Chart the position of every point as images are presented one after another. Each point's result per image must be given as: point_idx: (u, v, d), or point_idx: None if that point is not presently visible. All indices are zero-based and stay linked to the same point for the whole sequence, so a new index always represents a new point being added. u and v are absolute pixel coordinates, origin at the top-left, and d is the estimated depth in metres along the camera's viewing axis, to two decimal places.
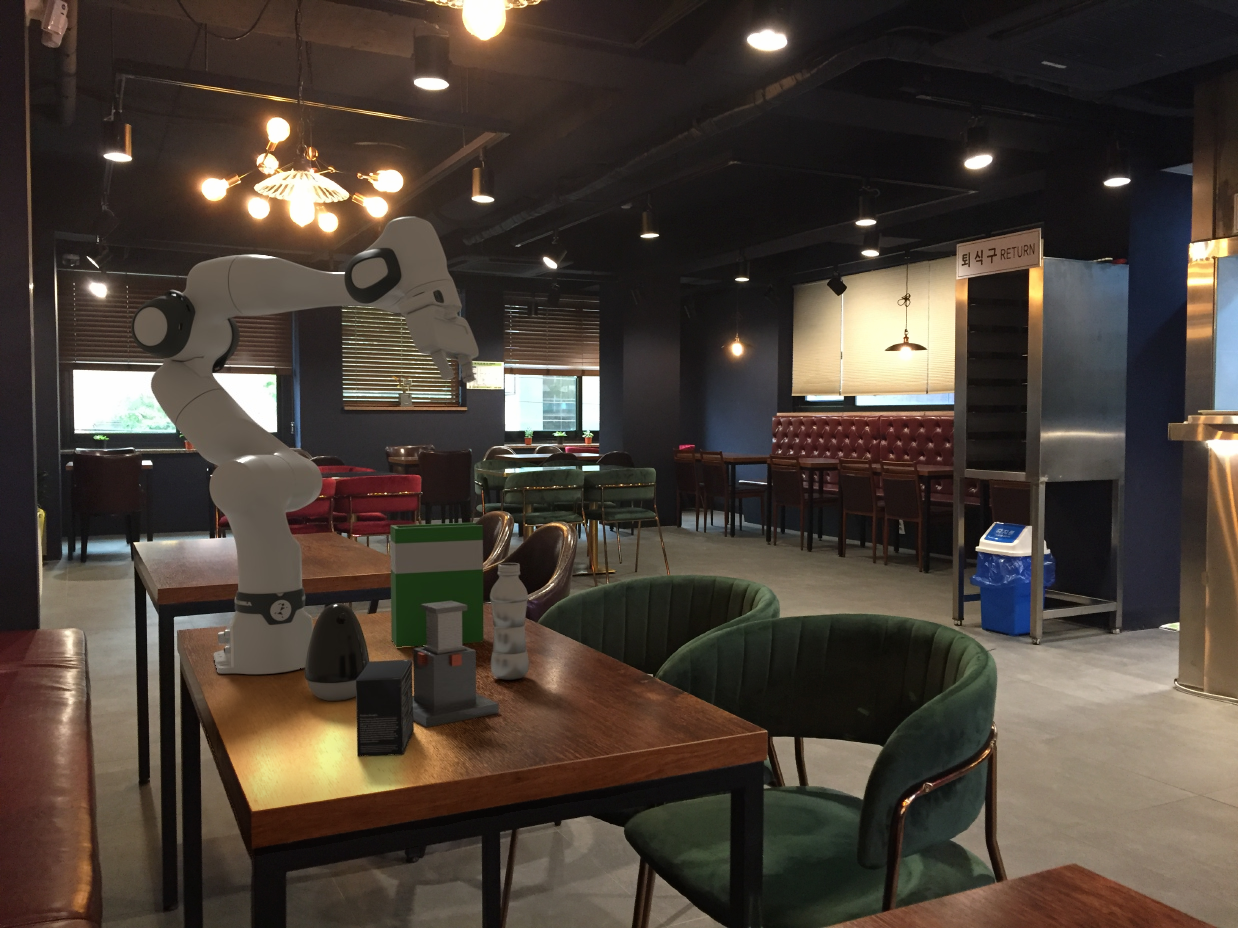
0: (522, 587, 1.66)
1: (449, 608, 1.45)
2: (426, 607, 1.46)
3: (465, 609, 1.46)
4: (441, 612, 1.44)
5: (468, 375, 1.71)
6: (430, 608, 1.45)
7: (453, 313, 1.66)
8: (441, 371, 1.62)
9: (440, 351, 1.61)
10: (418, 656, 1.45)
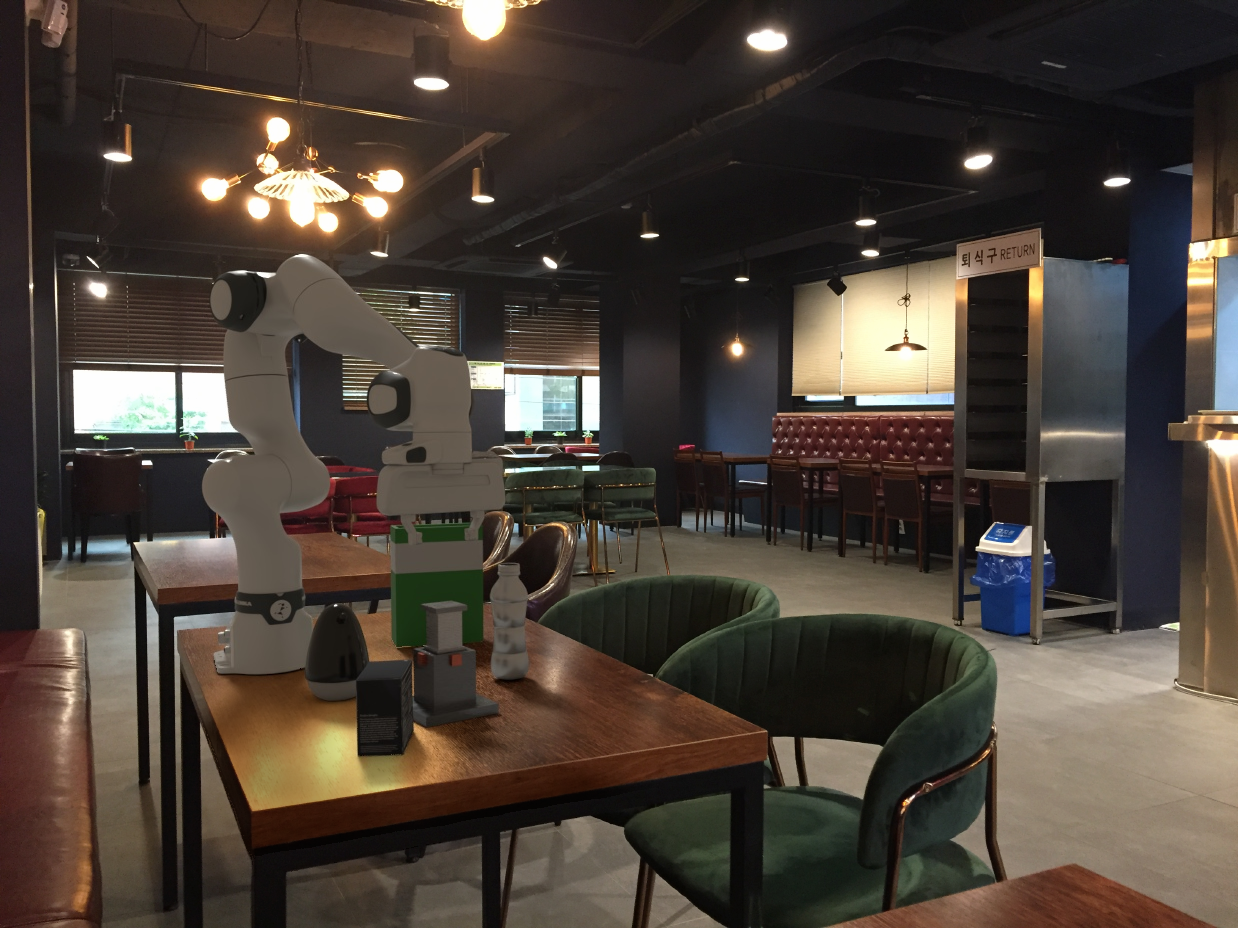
0: (522, 587, 1.66)
1: (449, 608, 1.45)
2: (426, 607, 1.46)
3: (465, 609, 1.46)
4: (441, 612, 1.44)
5: (469, 534, 1.49)
6: (430, 608, 1.45)
7: (447, 469, 1.44)
8: (409, 535, 1.44)
9: (405, 515, 1.42)
10: (418, 656, 1.45)
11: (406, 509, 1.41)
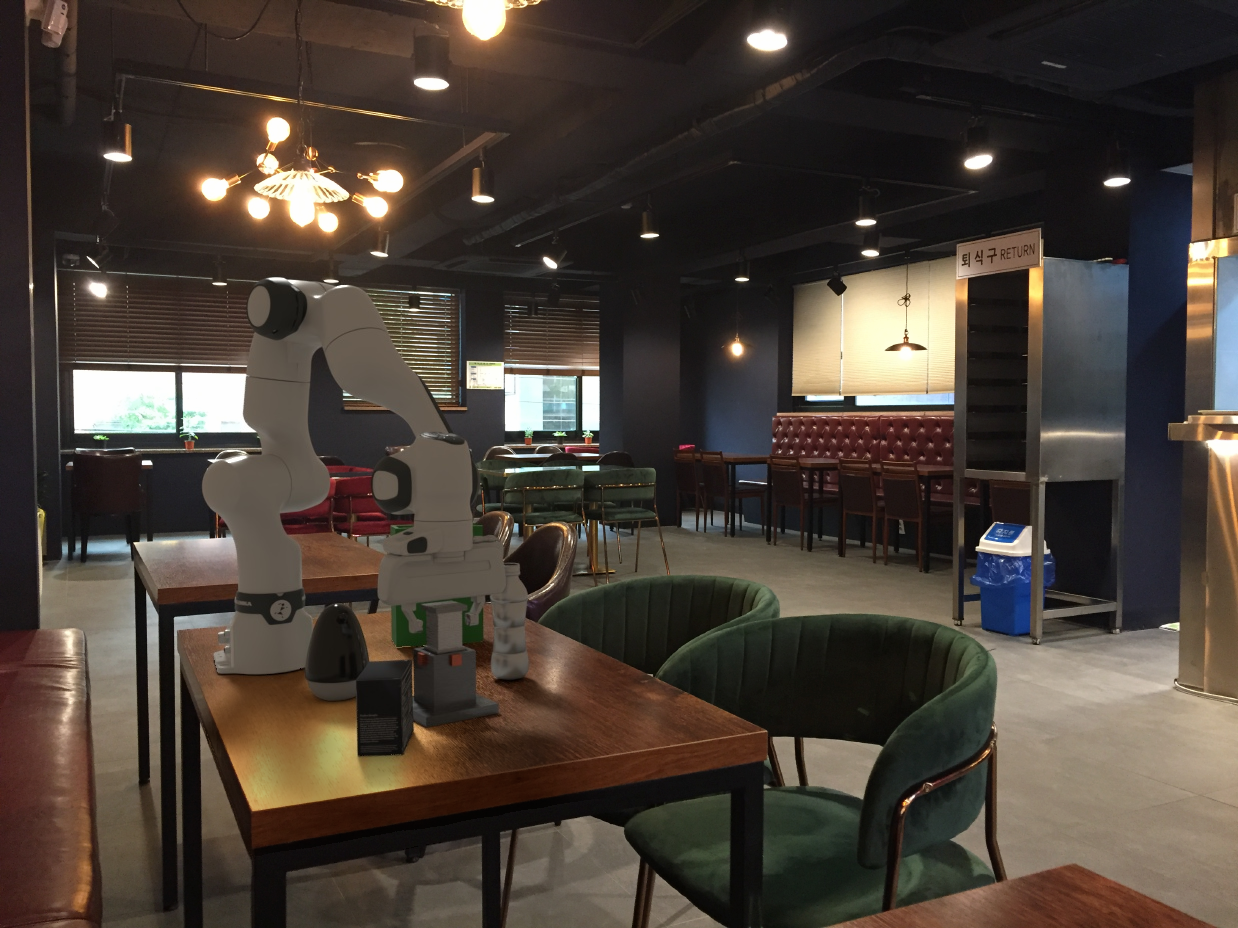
0: (522, 587, 1.66)
1: (449, 608, 1.45)
2: (426, 607, 1.46)
3: (465, 609, 1.46)
4: (441, 612, 1.44)
5: (469, 618, 1.49)
6: (430, 608, 1.45)
7: (448, 558, 1.44)
8: (409, 622, 1.44)
9: (406, 604, 1.42)
10: (418, 656, 1.45)
11: (407, 599, 1.41)
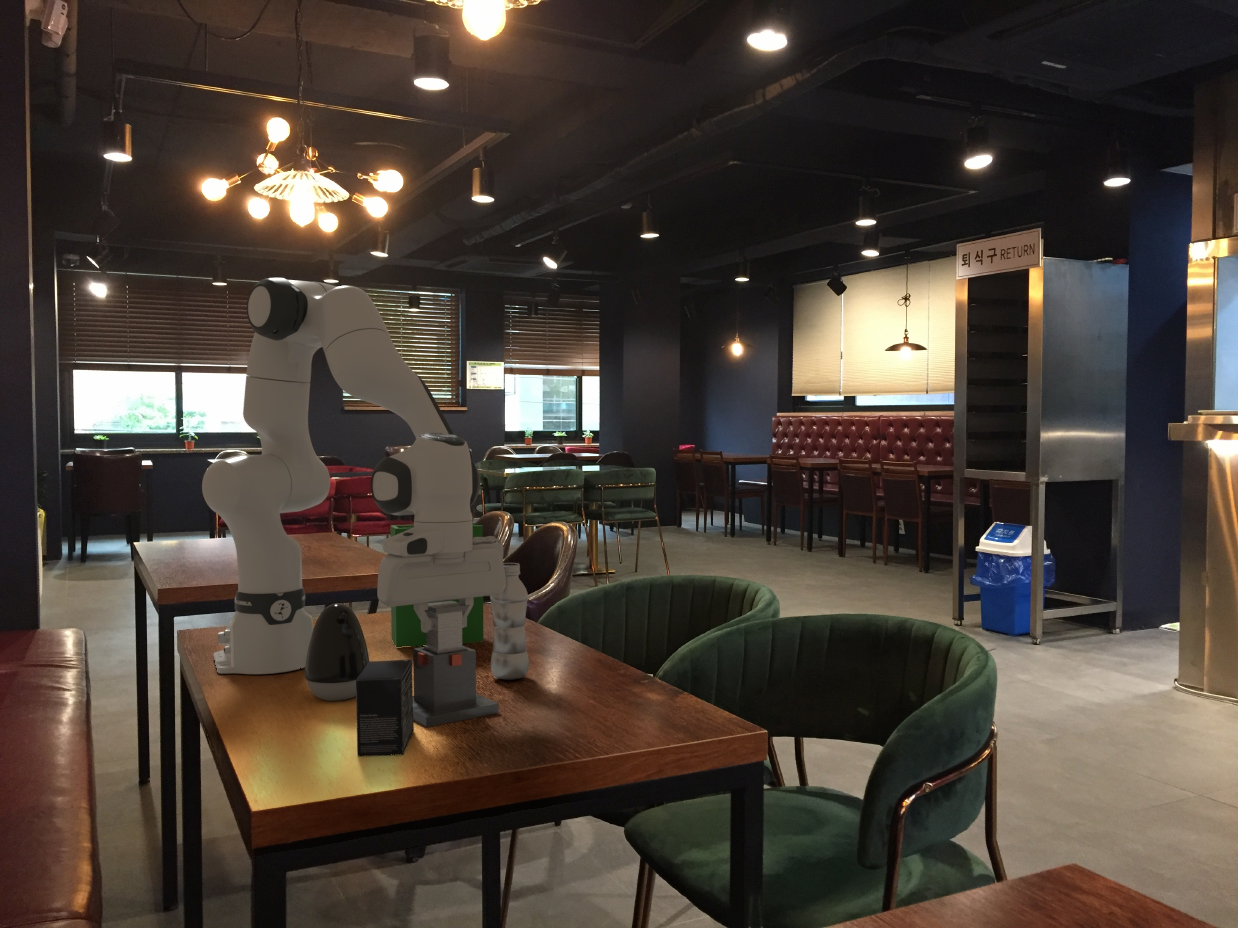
0: (522, 587, 1.66)
1: (449, 608, 1.45)
2: None
3: (465, 609, 1.46)
4: (441, 612, 1.44)
5: None
6: (430, 608, 1.45)
7: (448, 559, 1.44)
8: (421, 622, 1.45)
9: (419, 604, 1.44)
10: (418, 656, 1.45)
11: (407, 600, 1.41)
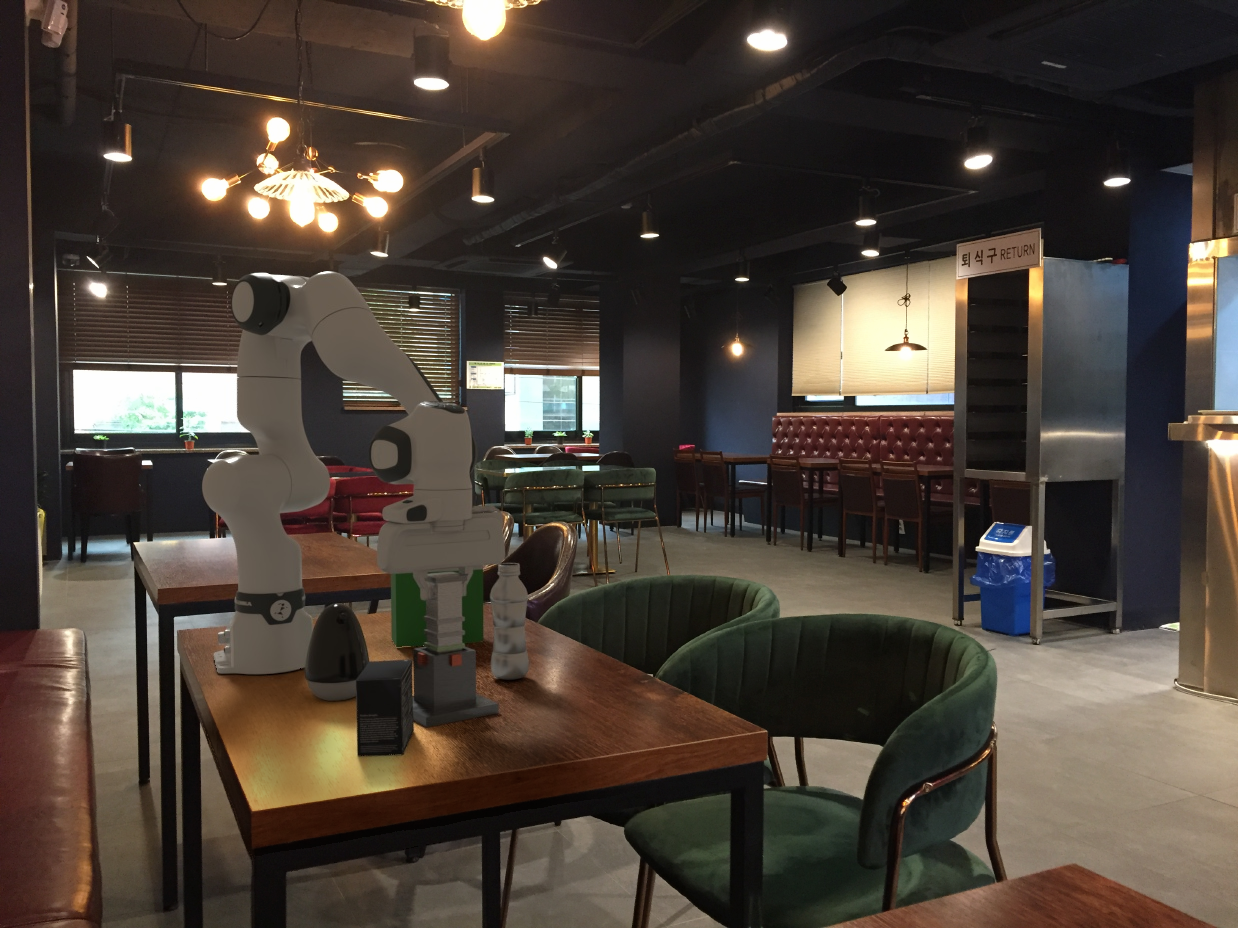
0: (522, 587, 1.66)
1: (449, 578, 1.45)
2: None
3: (465, 579, 1.46)
4: (441, 582, 1.44)
5: None
6: (430, 578, 1.45)
7: (447, 527, 1.44)
8: (421, 590, 1.45)
9: (418, 572, 1.44)
10: (418, 656, 1.45)
11: (406, 567, 1.41)
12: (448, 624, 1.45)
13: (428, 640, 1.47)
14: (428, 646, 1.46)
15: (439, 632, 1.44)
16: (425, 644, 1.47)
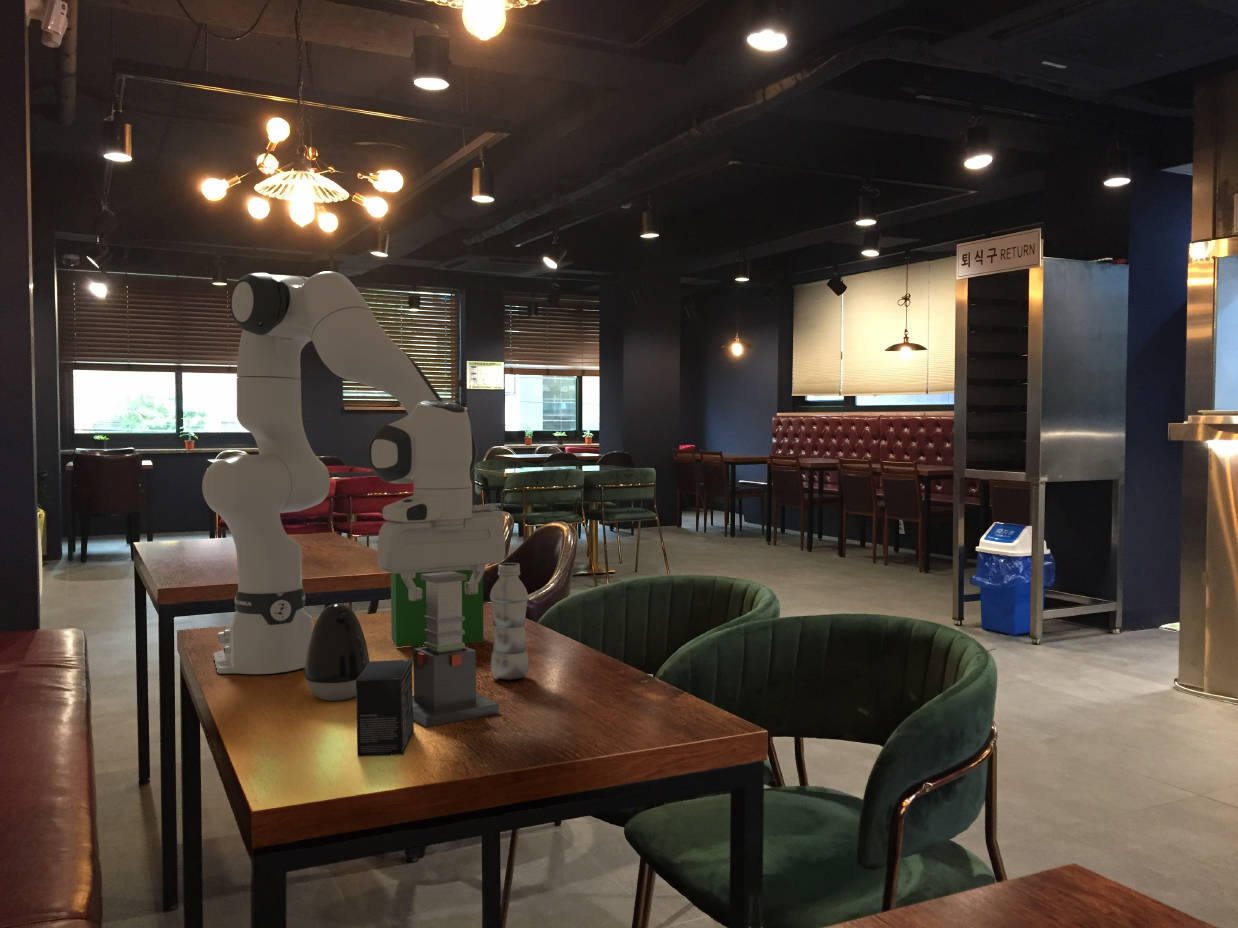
0: (522, 587, 1.66)
1: (449, 577, 1.45)
2: (426, 577, 1.46)
3: (465, 579, 1.46)
4: (441, 581, 1.44)
5: (469, 587, 1.49)
6: (430, 577, 1.45)
7: (448, 526, 1.44)
8: (409, 590, 1.44)
9: (406, 572, 1.42)
10: (418, 656, 1.45)
11: (406, 566, 1.41)
12: (448, 623, 1.45)
13: (428, 640, 1.47)
14: (428, 646, 1.46)
15: (439, 632, 1.44)
16: (425, 644, 1.47)
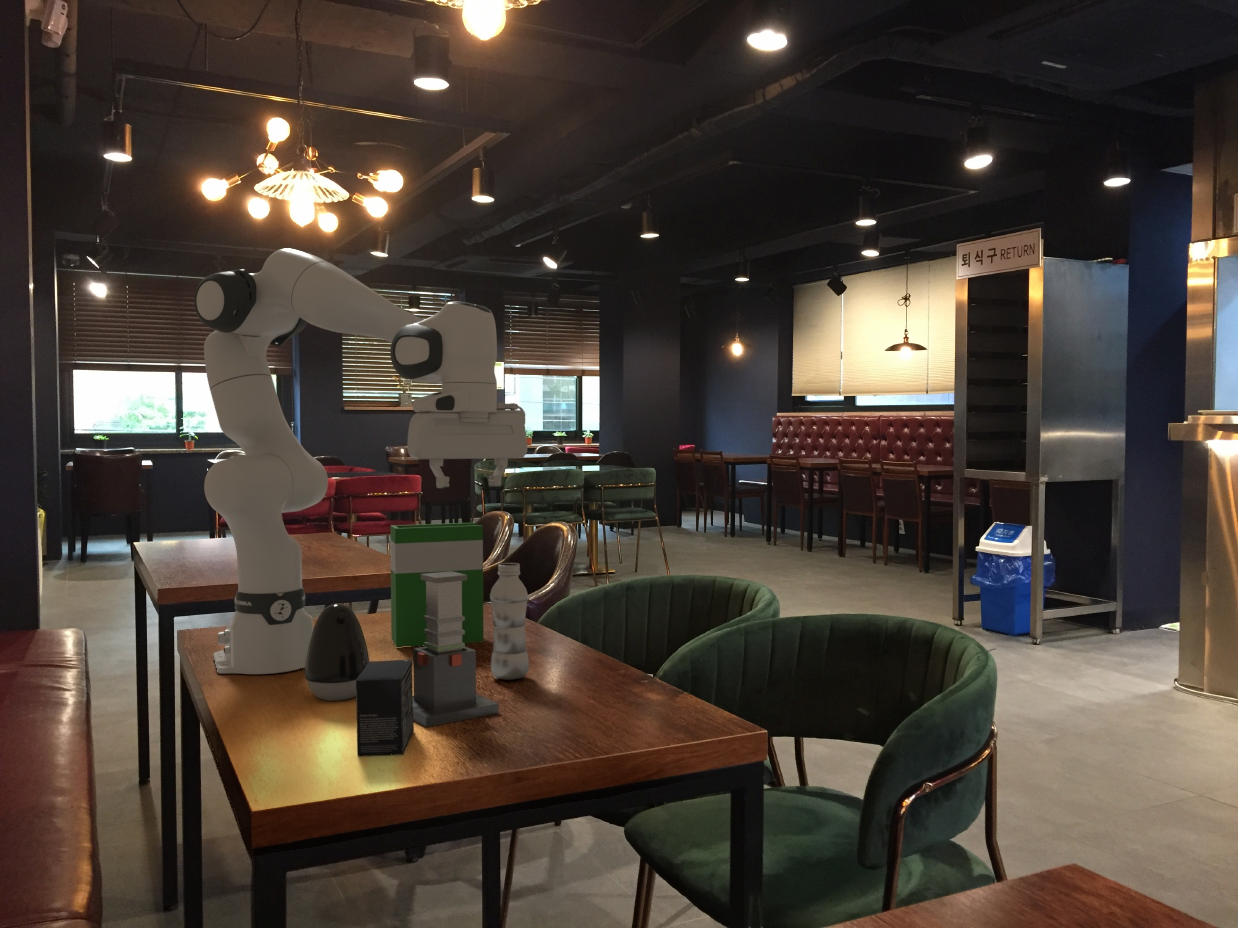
0: (522, 587, 1.66)
1: (449, 577, 1.45)
2: (426, 577, 1.46)
3: (465, 579, 1.46)
4: (441, 581, 1.44)
5: (493, 480, 1.58)
6: (430, 577, 1.45)
7: (474, 418, 1.53)
8: (437, 478, 1.54)
9: (434, 460, 1.52)
10: (418, 656, 1.45)
11: (435, 454, 1.51)
12: (448, 623, 1.45)
13: (428, 640, 1.47)
14: (428, 646, 1.46)
15: (439, 632, 1.44)
16: (425, 644, 1.47)
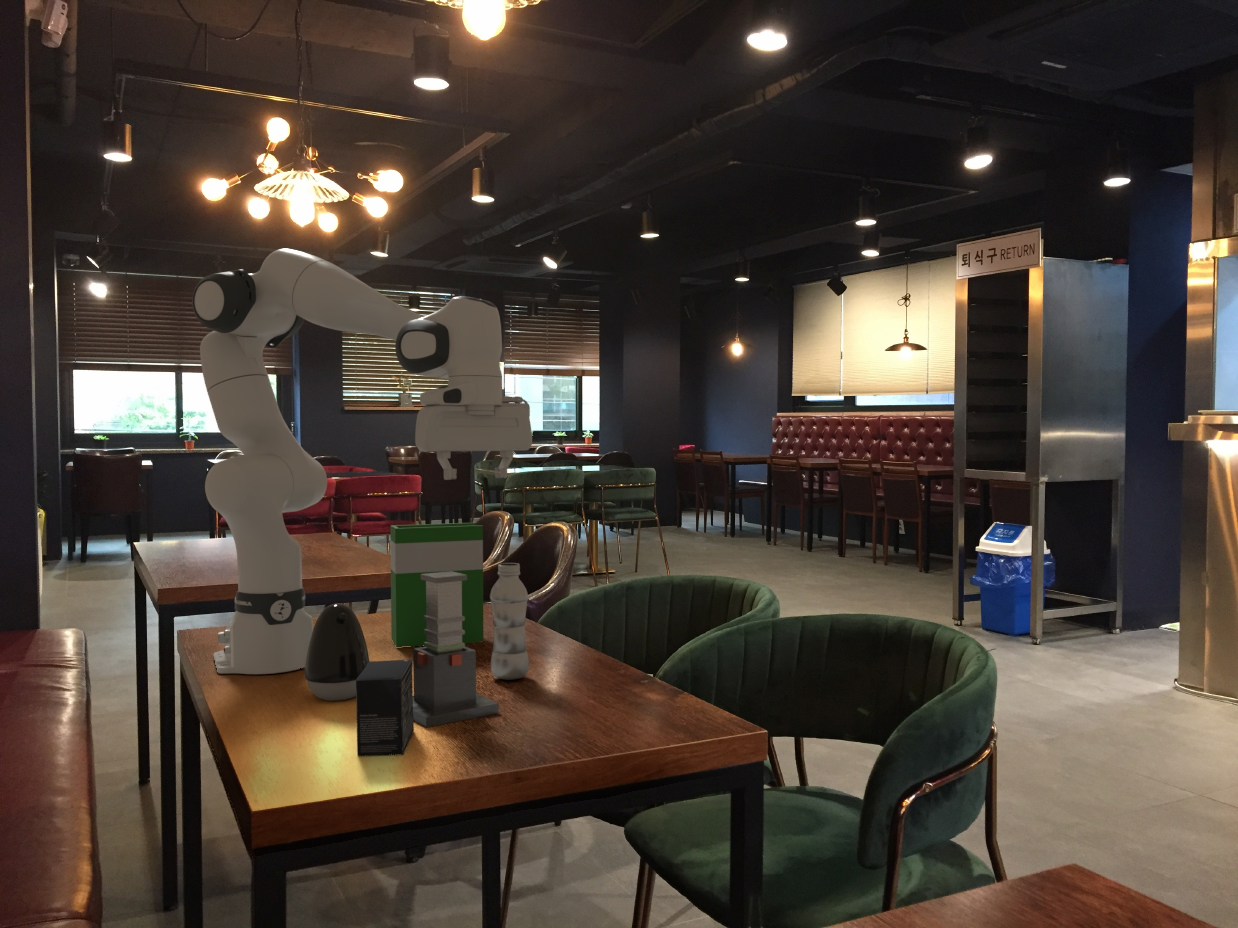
0: (522, 587, 1.66)
1: (449, 577, 1.45)
2: (426, 577, 1.46)
3: (465, 579, 1.46)
4: (441, 581, 1.44)
5: (499, 472, 1.61)
6: (430, 577, 1.45)
7: (480, 411, 1.56)
8: (444, 470, 1.56)
9: (442, 452, 1.54)
10: (418, 656, 1.45)
11: (443, 446, 1.53)
12: (448, 623, 1.45)
13: (428, 640, 1.47)
14: (428, 646, 1.46)
15: (439, 632, 1.44)
16: (425, 644, 1.47)
